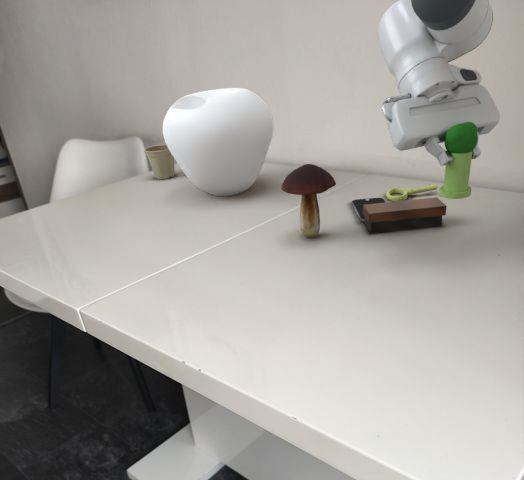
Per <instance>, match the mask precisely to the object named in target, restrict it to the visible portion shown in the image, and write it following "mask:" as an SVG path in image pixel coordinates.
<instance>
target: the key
mask: <svg viewBox="0 0 524 480" xmlns="http://www.w3.org/2000/svg"><path fill="white" fill-rule="evenodd" d="M436 190H438V185H437V184H434V183H433V184H428V185H426V186H420V187H415V188H411V187H409V188H408V189H405V188H403V187H392V188H389V189H388V190H387V191H386V193H385V197H386V198H387V200H388V201H390V202H395V201H405V200H408V197H412V195H414V194H415V195H416V194H420V193H426V192H431V191H436ZM392 194H401V195H397V196H394V195H392Z"/></svg>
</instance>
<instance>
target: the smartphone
mask: <svg viewBox="0 0 524 480" xmlns="http://www.w3.org/2000/svg"><path fill="white" fill-rule="evenodd" d="M385 202H386V201H385V199H384V198H382V197H370V198H359V199H353V200H352V201H351V205H352V207H353V210H354V212H355V213H356V216H357V218H358V220H359V221H360V223H364V224H365V216H364V215H363V205H365V204H375V203H385Z"/></svg>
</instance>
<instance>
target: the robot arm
mask: <svg viewBox="0 0 524 480" xmlns="http://www.w3.org/2000/svg"><path fill="white" fill-rule="evenodd" d="M493 13H494V12H493V9H492V6H491V3H490V0H397V1H396V2H394V3H393V4H391V5H390V6H389V7H388V8H387V10H385V12H384V14H383V15H382V16H381V19H380V21H379V24H378V27H377V40H378V44H379V47H380V52H381V54H382V56H383V60H384V62H385V64H386V66H387V69H388V71H389V72H390V74H391V75H392V76H393V77H394V78H395V80H396V87H397V90H398V93H399V95H396V96H389V97H386V98H385V100H384V101H382V104H381V107H380V108H381V112H382V114H383V116H384V119H385V120H386V126H387V130H388V134H389V136H390V139H391V142H392V145H393V146H394V148H396V149H397V150H399V151H400V152H403V151H408V150H412V149H418V148H423V147H424V148H425V150H426V152H428V154H430V155H432V156H433V157H434V158H435V159H436V160H437V162H438V164H439V166H440V167H443V166H446V165H448V164H450V162H452V160H453V157H452V155H451V152H450V151H449V150H448V151H447V150H446V149H445V148H444V147H442V146H441V145H440V144H442V143H445V136H446V134H447V131H448V130H449V129H450V128H451V127H452V126H455V125H457V124H461V123H465V122H472V123H474V124H475V125H476V127H477V130H478V131H477V135H478V140H480V139H479V137H480V136H483V135H487V134H489V133H490V132H491V131H492V130H493V129H494V128H496V127H497V125H498V124H499V123H500V119H501V113H500V111H499V109H498V107H497V105H496V102H495V101H494V99H493V97H492V95H491V93H490V92H489V90H488V89H487V88H486V86H484V85H482V84H480V83H481V81H482V80H483V79H482V75H481V73H480V72H479V71H477V70H476V69H470V68H464V67H460V66H456V65H455V64H452V63H451V62H453V61H455V60H457V59H459V58H461V57H463V56H465V55H467V54H468V53H470V52H472V51H473V50H475V49H477V48H478V47H479V46H480V45H481V44H482V43H483V42H484V41H485V39H486V38H487V37H488V36H489V33H490V31H491V29H492V25H493V22H494V21H493V20H494V14H493ZM449 63H451V64H449ZM481 154H482V151H481V148H480V147H479V141H478V142H477V145H476V147H475V149H474V150H473V151H472V159H471V160H475V159H478V158H479V157H480V156H481Z"/></svg>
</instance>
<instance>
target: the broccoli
mask: <svg viewBox="0 0 524 480" xmlns="http://www.w3.org/2000/svg"><path fill="white" fill-rule="evenodd" d="M477 131H478V130H477V127H476V125H475V124H474V123H472V122H465V123H461V124H457V125H455V126H452V127H451V128H450V129H449V130H448V131H447V134H446V136H445V142H444V149H445V151H448V150H449V151H450V152H451V155H452V157H453V160H452V162H450V164H448V165H445V169H444V178H443V185H442V186H440V187H439V191H438V194H439V197H442V198H443V199H449V200H460V199H461V200H462V199H465V198H469V197H471V195H472V188H471V186H469V182H470V173H471V166H472V160H473V159H472V151H473V150H474V149H475V147H476V145H477V142H478V143H479V139H478V135H477Z"/></svg>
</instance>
